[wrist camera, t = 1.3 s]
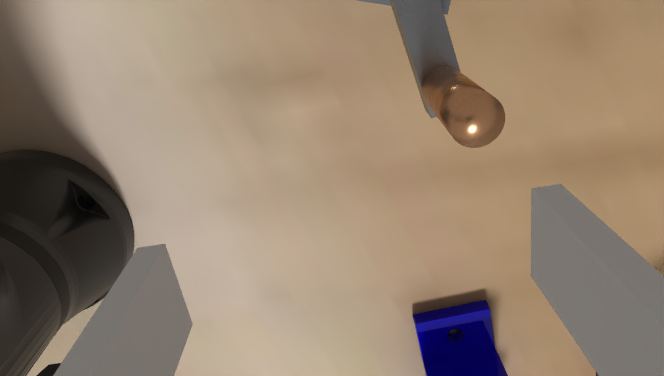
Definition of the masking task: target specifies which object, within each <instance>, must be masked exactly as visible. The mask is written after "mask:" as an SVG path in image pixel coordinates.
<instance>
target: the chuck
mask: <svg viewBox="0 0 664 376" xmlns="http://www.w3.org/2000/svg"><path fill="white" fill-rule="evenodd" d="M389 1H390V4H391V7H392V10H393V13H394V16H395V19H396V22H397V25H398V28H399V31H400V34H401V37H402V40H403V43H404V47H405V50H406V53H407V56H408V59H409V62H410V65H411V68H412V71H413V74H414V77H415V80H416V83H417V86H418V89H419V92H420V95H421V99H422V102H423V105H424V108H425V110H426V112H427V113H428V114H429V116H430V117H431V118H433V117H436V116H437V117H438V119H439V120H440V121H441V122H442V124H443V125H444V126H445V128H446V129H447V130H448V131H449V133H450V134H451V135H452V137H453V138H454V139H455V140H456V141H457V142H458V143H459V144H461V145H463V146H466V147H470V148H477V147H482V146H485V145H487V144H489V143H491V142H492V141H493V140H495V139H496V138H497V137H498V135H499V134H500V133H501V131H502V129H503V126H504V123H505V112H504V109H503V106H502V105H501V103H500V102H499V101H498V100H497V99H496V98H495V97H493V96H492V95H491V94H489V93H488V92H486V91H485V90H484V89H482V88H481V87H480V86H478V85H477V84H476V83H474V82H473V81H472V80H470V79H469V78H468V77H466V76H465V75H464V74H462V73H461V72H460V69H459V66H458V62H457V59H456V55H455V52H454V48H453V45H452V41H451V38H450V34H449V31H448V27H447V24H446V20H445V17H444V14H443V10H442V7H441V3H440V0H389Z"/></svg>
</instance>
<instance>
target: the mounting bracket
mask: <svg viewBox="0 0 664 376" xmlns="http://www.w3.org/2000/svg"><path fill="white" fill-rule="evenodd" d="M413 319H414V324H415V328H416V333H417V338H418V342H419V347H420V352H421V356H422V361H423V366H424V370H425V375H426V376H508V375H507V373H506V371H505V368H504V366H503V364H502V362H501V360H500V357H499V355H498V353H497V351H496V349H495V344H494V336H493V329H492V321H491V314H490V308H489V306H488V304H487V302H486V300H483V301H478V302H473V303H468V304H463V305H458V306H453V307H449V308H444V309H439V310H434V311H429V312H424V313H419V314H414V315H413ZM452 329H460V330H459V331H458V332H456V333H452V334H450V333H448V332H449V331H450V330H452Z"/></svg>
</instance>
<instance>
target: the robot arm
mask: <svg viewBox="0 0 664 376" xmlns="http://www.w3.org/2000/svg"><path fill="white" fill-rule="evenodd" d="M133 251H134V232H133V227H132V223H131V220H130V217H129V214H128V212H127V210H126V208H125V206H124V205H123V203H122V201H121V200H120V198H119V197H118V195H117V194H116V193H115V192H114V190H113V189H112V188H111V187H110V186H109V185H108V184H107V183H106V182H105V181H104V180H103V179H101V178H100V177H99V176H98V175H97V174H95V173H94V172H92V171H91V170H89V169H88V168H86V167H85V166H83V165H81V164H79V163H77V162H75V161H73V160H71V159H69V158H66V157H63V156H60V155H57V154H53V153H49V152H43V151H35V150H18V151H11V152H6V153H2V154H0V376H26V375H27V374H28V372H29V371H30V370H31V368H32V367H33V365H34V364H35V362H36V361H37V360H38V358H39V357H40V355H41V354H42V353H43V351H44V350H45V348H46V347H47V345H48V344H49V343H50V341H51V340H52V338H53V337H54V336H55V334H56V333H57V331H58V330H59V329H60V327H61V326H62V325H63V324H64V323H66V322H67V321H69V320H70V319H71V318H72V317H74V316H75V315H77V314H78V313H80V312H81V311H83V310H85V309H87V308H89V307H91V306H93V305H95V304H96V303H98V302H99V301H101V300H102V299H104V300H103V301H102V303H101V304H100V306H99V307H98V309H97V310H96V312H95V313H94V315H93V316H92V318H91V319H90V321H89V322H88V324H87V325H86V327H85V328H84V330H83V331H82V333H81V334H80V336H79V337H78V339H77V340H76V342H75V343H74V345H73V346H72V348H71V349H70V351H69V353H68V354H67V356H66V357H65V359H64V360H63V362H62V363H58V364H51V365H48V366H47V367H46V368H45V369H43V370H42V371H41V372H40V373H39V374H38V375H37V376H174V374H175V371H176V368H177V366H178V363H179V360H180V357H181V355H182V352H183V349H184V346H185V344H186V341H187V338H188V335H189V333H190V330H191V327H192V321H191V318H190V315H189V312H188V309H187V306H186V303H185V300H184V298H183V295H182V292H181V289H180V286H179V283H178V280H177V277H176V274H175V271H174V269H173V266H172V263H171V260H170V257H169V254H168V251H167V248H166V245H165V244H160V245H154V246H147V247H141V248H137V250H136V251H135V253H134V254H133ZM531 277H532V278H533V280H534V281H535V283H536V284H537V286H538V287H539V288H540V290H541V291H542V293H543V294H544V296H545V297H546V299H547V300H548V302H549V303H550V305H551V306H552V307H553V309H554V310H555V312H556V313H557V315H558V316H559V318H560V319H561V321H562V322H563V324H564V325H565V326H566V328H567V329H568V331H569V332H570V334H571V335H572V337H573V338H574V340H575V341H576V343H577V344H578V345H579V347H580V348H581V350H582V351H583V353H584V354H585V356H586V357H587V359H588V360H589V362H590V363H591V365H592V366H593V367H594V369H595V370H596V372H597V373H598V375H599V376H664V276H663V275H662V274H661V273H660V272H659V271H657V270H656V269H655V268H654V267H653V266H652V265H651V264H650V263H648V262H647V261H646V260H645V259H644V258H643V257H642V256H641V255H640V254H638V253H637V252H636V251H635V250H634V249H633V248H632V247H631V246H629V245H628V244H627V243H626V242H625V241H624V240H623V239H622V238H621V237H619V236H618V235H617V234H616V233H615V232H614V231H613V230H612V229H611V228H609V227H608V226H607V225H606V224H605V223H604V222H603V221H602V220H600V219H599V218H598V217H597V216H596V215H595V214H594V213H593V212H592V211H590V210H589V209H588V208H587V207H586V206H585V205H584V204H583V203H581V202H580V201H579V200H578V199H577V198H576V197H575V196H574V195H573V194H571V193H570V192H569V191H568V190H567V189H566V188H565V187H564V186H563V185H561V184H557V185H551V186H544V187H538V188H531Z"/></svg>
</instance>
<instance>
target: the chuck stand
mask: <svg viewBox="0 0 664 376" xmlns="http://www.w3.org/2000/svg"><path fill="white" fill-rule="evenodd" d="M359 1H365V2H371V3H378V4H384V5H391V4H390V1H389V0H359ZM450 1H451V0H440V3H441V7H442V10H443V14H448V10H449V6H450Z"/></svg>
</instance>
